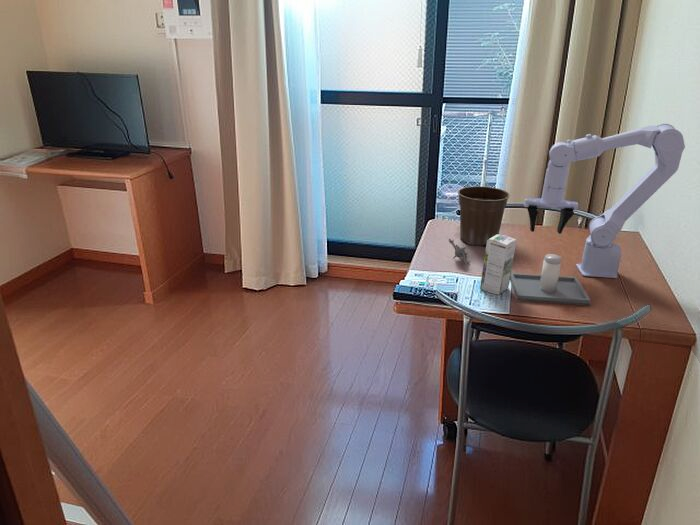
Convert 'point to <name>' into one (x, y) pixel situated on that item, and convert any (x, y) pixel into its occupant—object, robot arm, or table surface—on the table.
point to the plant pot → (481, 213)
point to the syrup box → (497, 264)
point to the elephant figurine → (460, 252)
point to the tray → (564, 294)
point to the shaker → (550, 273)
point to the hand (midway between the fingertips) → (545, 231)
